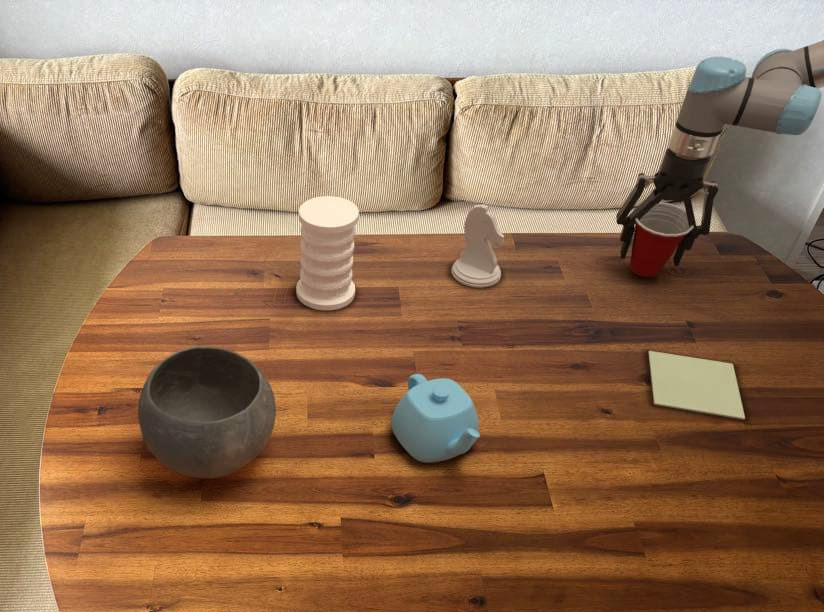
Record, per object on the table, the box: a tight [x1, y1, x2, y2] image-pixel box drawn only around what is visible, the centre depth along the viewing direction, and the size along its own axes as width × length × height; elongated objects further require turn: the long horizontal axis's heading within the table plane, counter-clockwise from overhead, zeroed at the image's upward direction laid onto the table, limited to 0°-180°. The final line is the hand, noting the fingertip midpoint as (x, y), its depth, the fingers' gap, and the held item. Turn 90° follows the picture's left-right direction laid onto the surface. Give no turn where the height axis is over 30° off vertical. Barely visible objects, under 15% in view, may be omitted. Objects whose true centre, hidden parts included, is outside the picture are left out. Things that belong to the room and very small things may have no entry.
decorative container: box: [295, 195, 360, 311], centre depth 145 cm, size 12×12×18 cm
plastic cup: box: [629, 201, 694, 278], centre depth 150 cm, size 11×11×12 cm
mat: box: [647, 350, 746, 421], centre depth 132 cm, size 14×14×1 cm
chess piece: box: [450, 203, 505, 289], centre depth 151 cm, size 10×10×15 cm
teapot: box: [390, 373, 481, 463], centre depth 119 cm, size 13×11×18 cm
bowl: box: [137, 345, 277, 479], centre depth 116 cm, size 20×20×15 cm
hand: (648, 258), depth 152 cm, fingers closed on plastic cup, 9 cm apart
